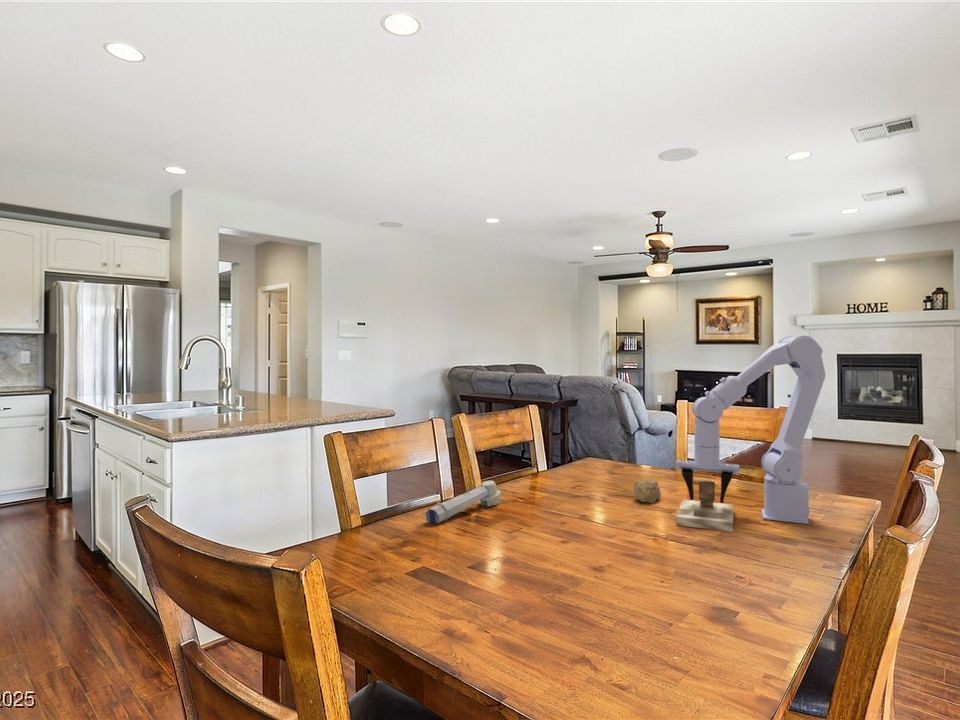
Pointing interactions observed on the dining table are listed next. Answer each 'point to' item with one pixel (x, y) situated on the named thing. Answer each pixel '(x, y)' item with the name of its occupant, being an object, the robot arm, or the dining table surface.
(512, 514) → the dining table surface
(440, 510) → the grey mallet
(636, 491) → the stone tool
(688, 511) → the board
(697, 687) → the dining table surface
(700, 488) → the peg
